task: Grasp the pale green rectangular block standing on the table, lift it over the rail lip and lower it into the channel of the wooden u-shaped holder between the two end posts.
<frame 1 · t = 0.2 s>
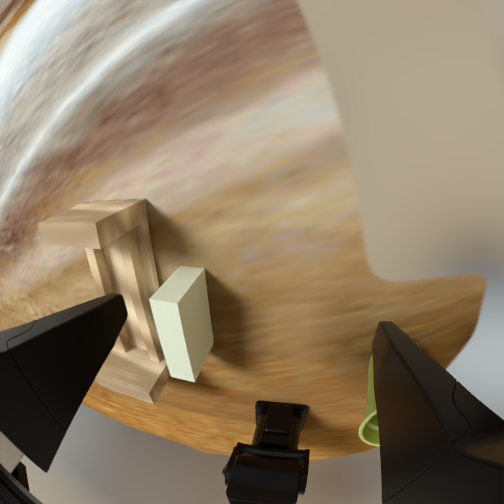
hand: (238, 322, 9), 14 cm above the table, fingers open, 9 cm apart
pale green rectangular block: (197, 307, 27), on the table
wooden u-shaped holder: (130, 290, 28), on the table
plant pot: (395, 357, 25), on the table
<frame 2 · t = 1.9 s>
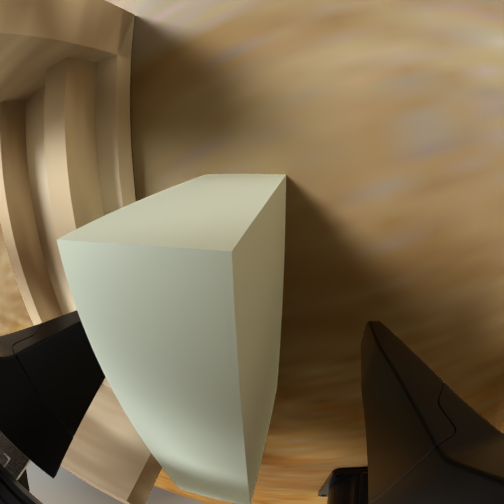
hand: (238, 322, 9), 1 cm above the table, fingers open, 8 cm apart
pale green rectangular block: (248, 301, 10), on the table
wooden u-shaped holder: (78, 260, 11), on the table
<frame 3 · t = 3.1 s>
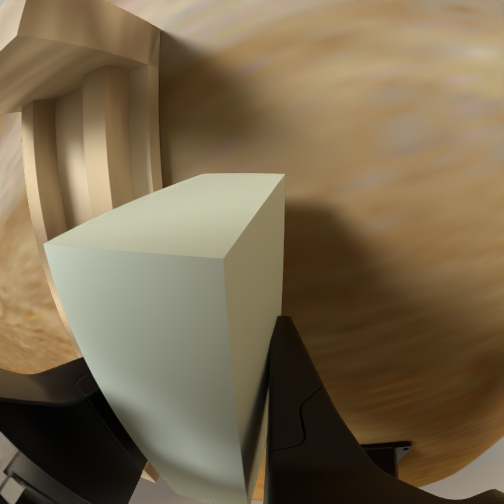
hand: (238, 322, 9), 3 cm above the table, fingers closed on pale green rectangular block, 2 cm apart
pale green rectangular block: (246, 304, 10), point 2 cm above the table, touching gripper
wooden u-shaped holder: (104, 245, 13), on the table
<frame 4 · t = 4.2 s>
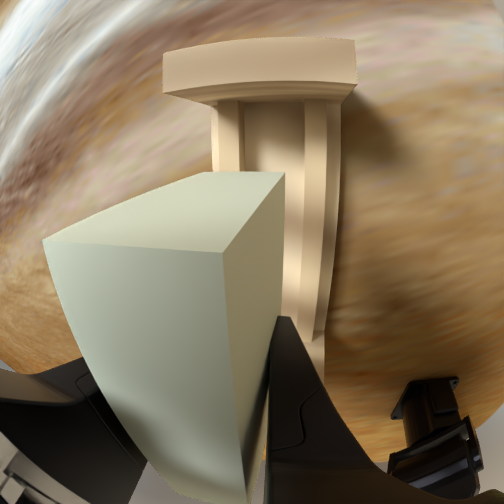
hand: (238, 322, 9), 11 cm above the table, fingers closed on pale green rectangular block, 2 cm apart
pale green rectangular block: (246, 302, 10), point 10 cm above the table, touching gripper
wooden u-shaped holder: (276, 223, 19), on the table
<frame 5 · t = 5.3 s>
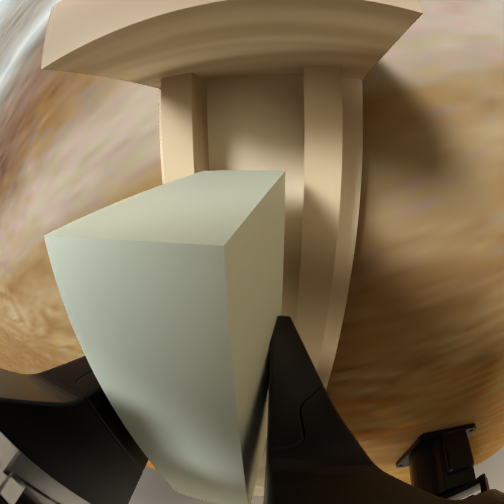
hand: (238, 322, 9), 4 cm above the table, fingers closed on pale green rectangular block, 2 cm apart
pale green rectangular block: (246, 301, 10), point 3 cm above the table, touching gripper
wooden u-shaped holder: (259, 264, 13), on the table
when the fingers open (3 cm above the table, at t = 5.8 s): pale green rectangular block stays where it is, resting on wooden u-shaped holder.
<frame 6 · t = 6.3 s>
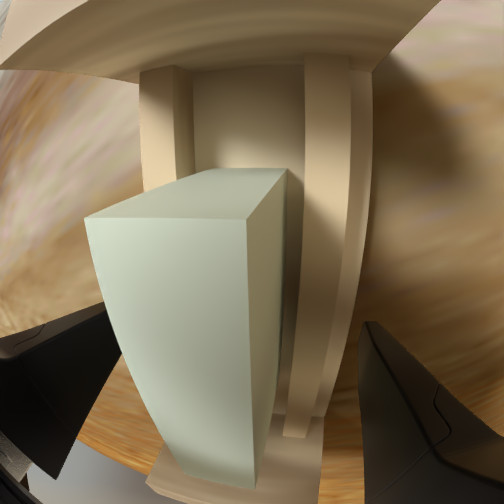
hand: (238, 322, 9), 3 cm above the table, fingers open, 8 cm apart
pale green rectangular block: (251, 289, 10), point 1 cm above the table, touching wooden u-shaped holder
wooden u-shaped holder: (254, 280, 11), on the table
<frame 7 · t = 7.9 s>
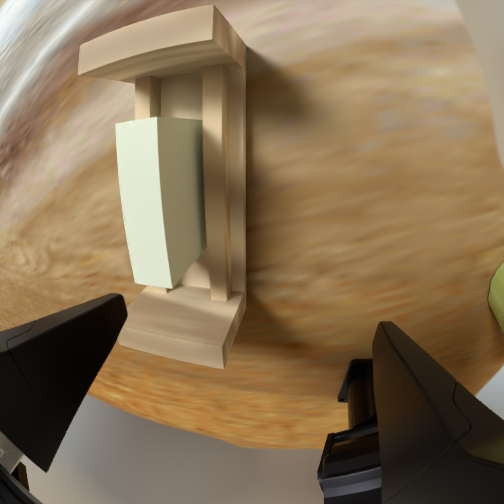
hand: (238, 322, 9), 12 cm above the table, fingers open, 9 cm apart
pale green rectangular block: (187, 185, 19), point 1 cm above the table, touching wooden u-shaped holder
wooden u-shaped holder: (191, 184, 19), on the table
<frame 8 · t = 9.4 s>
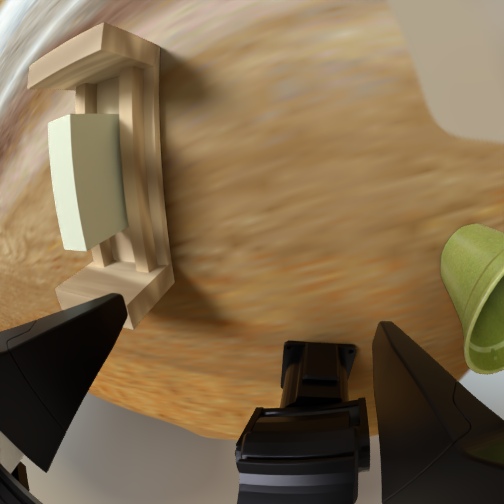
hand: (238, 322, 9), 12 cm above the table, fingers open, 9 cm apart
pale green rectangular block: (116, 170, 20), point 1 cm above the table, touching wooden u-shaped holder
wooden u-shaped holder: (121, 169, 20), on the table
plant pot: (467, 257, 18), on the table
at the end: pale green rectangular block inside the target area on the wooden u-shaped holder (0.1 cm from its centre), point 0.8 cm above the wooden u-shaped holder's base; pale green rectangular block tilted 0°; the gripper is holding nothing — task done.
